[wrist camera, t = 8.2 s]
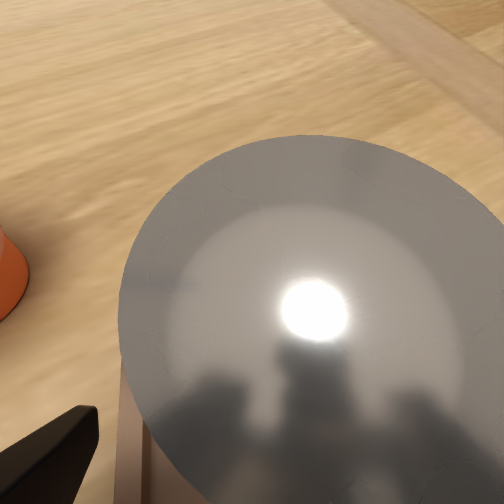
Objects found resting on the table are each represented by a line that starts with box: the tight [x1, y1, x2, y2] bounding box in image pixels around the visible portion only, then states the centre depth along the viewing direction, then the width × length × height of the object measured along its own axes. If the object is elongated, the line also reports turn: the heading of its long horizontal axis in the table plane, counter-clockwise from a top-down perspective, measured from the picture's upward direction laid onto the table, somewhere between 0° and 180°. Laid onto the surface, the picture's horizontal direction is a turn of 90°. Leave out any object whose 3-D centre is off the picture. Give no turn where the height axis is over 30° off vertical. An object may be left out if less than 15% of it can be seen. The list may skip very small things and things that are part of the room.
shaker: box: [118, 135, 504, 504], centre depth 10 cm, size 5×5×13 cm
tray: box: [114, 360, 211, 504], centre depth 13 cm, size 16×14×2 cm
